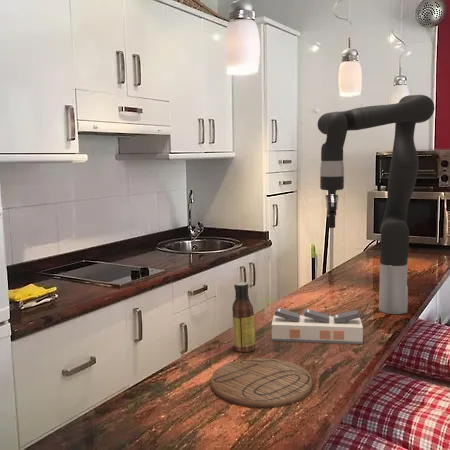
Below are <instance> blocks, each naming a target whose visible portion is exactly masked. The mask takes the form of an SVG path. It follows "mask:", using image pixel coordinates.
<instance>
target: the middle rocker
mask: <svg viewBox="0 0 450 450" xmlns="http://www.w3.org/2000/svg"><path fill="white" fill-rule="evenodd" d="M303 315H304V316H305V317H308V318H312V319H314V320H315V321H317V320H319V321H322V322H326V323H328V322H329V316H330V314H328V313H327V314H326V313H324V312H320V311H317V310H313V309H310V308H304V311H303Z"/></svg>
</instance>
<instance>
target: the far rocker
mask: <svg viewBox="0 0 450 450" xmlns="http://www.w3.org/2000/svg"><path fill="white" fill-rule="evenodd" d="M274 315H275V316H278V317H282V318H285V320H288V319H289V320H292V321H296V322H299V318H300V315H301V314H300V313H298V312H294V311H291V310H287V309H283V308H280V307H278V306H277V307H276V308H275V310H274Z"/></svg>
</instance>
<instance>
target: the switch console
mask: <svg viewBox="0 0 450 450" xmlns="http://www.w3.org/2000/svg"><path fill="white" fill-rule="evenodd" d="M363 333H364V327H363V323H362V320H361V317H360V318H357V319H352V320H349V321H348V322H346V321H344V322H339V323H335V322H334V317H333V316H331V315H329V322H328V323H326V322H322V321H319V320H317V321H315V320H314V319H312V318H308V317H305V316H304V314H303V315H301V314H300V318H299V322H296V321H292V320H289V319H288V320H285V318H282V317H278V316H275V314H273V317H272V322H271V341H272V342H274V341H275V342H290V343H291V342H292V343H294V342H298V343H323V344H349V345H353V344H354V345H363V341H364V339H363V337H364V334H363Z"/></svg>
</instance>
